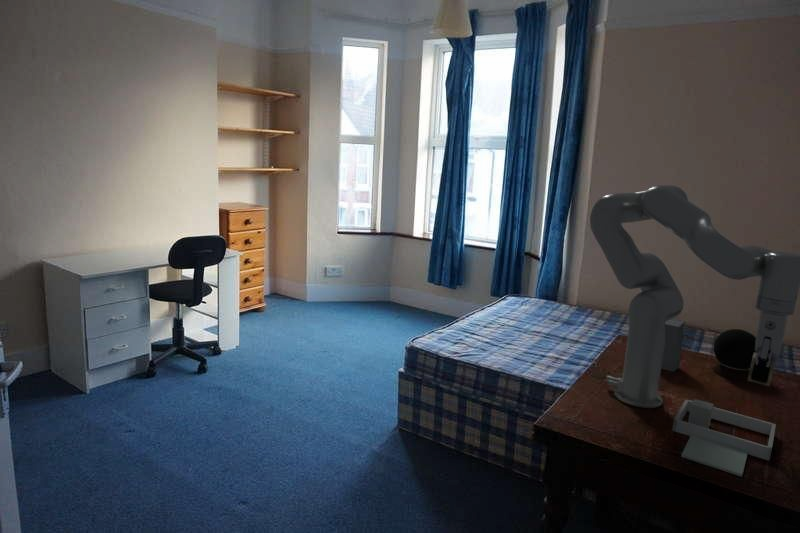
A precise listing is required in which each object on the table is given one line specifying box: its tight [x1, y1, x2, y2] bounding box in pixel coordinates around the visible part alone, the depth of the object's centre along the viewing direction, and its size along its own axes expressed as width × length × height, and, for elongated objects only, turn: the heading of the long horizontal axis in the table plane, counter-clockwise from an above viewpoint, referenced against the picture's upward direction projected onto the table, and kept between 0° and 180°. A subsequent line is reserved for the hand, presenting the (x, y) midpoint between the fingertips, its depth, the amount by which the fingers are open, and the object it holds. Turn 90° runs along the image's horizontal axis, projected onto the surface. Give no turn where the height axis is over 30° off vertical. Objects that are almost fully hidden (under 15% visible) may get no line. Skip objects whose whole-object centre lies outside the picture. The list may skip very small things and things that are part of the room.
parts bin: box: [671, 398, 777, 462], centre depth 138 cm, size 21×16×3 cm
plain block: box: [687, 398, 714, 429], centre depth 141 cm, size 4×4×6 cm
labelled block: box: [747, 352, 777, 387], centre depth 131 cm, size 4×4×6 cm
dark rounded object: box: [712, 328, 762, 382], centre depth 176 cm, size 13×13×15 cm
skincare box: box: [661, 319, 685, 373], centre depth 179 cm, size 8×7×16 cm
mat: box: [680, 435, 749, 477], centre depth 127 cm, size 12×12×1 cm
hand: (759, 376), depth 132 cm, fingers closed on labelled block, 4 cm apart
